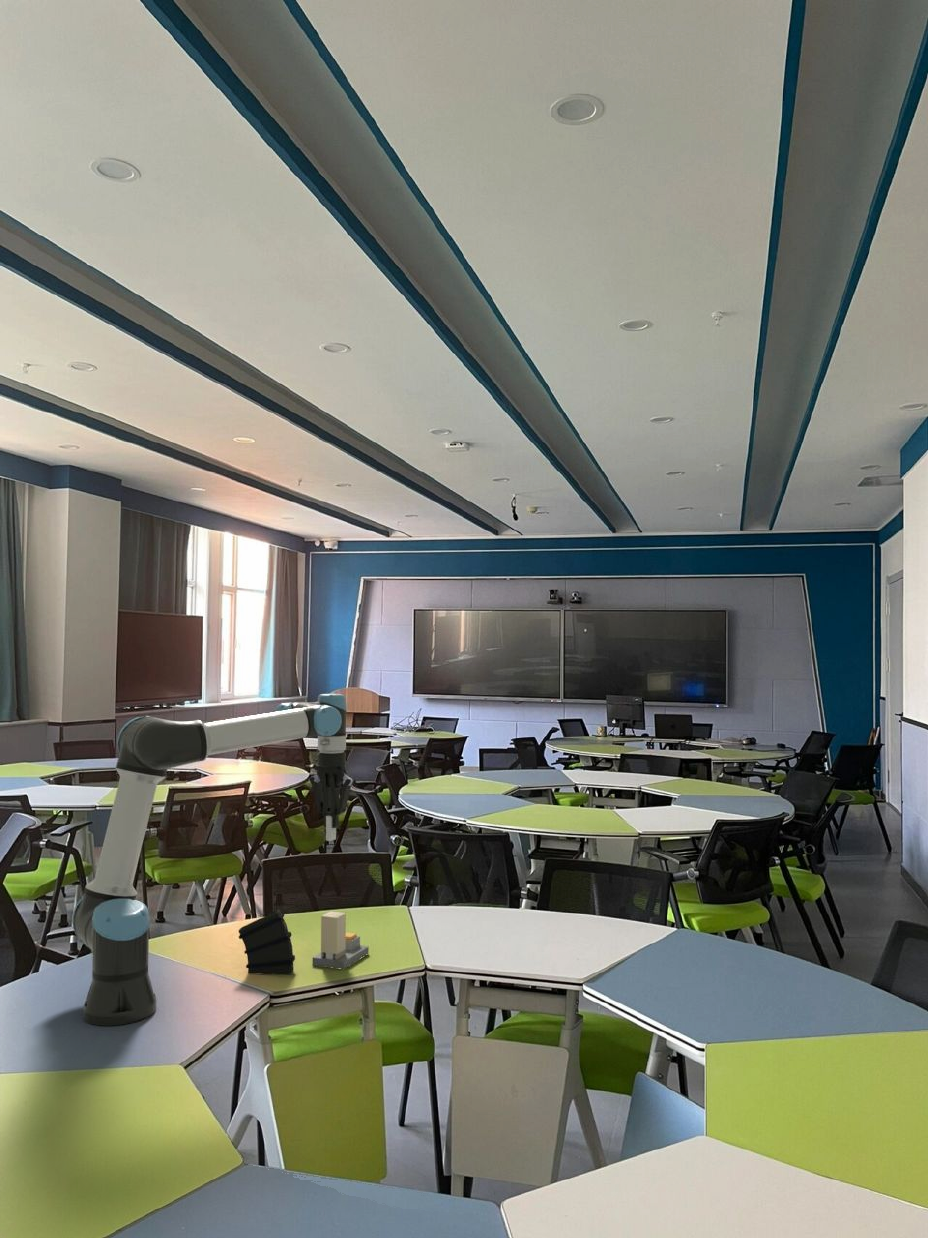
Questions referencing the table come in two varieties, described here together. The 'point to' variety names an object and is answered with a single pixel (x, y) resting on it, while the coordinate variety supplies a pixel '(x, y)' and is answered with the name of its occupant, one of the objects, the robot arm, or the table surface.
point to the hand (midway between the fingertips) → (330, 839)
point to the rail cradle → (352, 954)
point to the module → (333, 934)
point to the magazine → (268, 945)
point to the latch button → (350, 936)
